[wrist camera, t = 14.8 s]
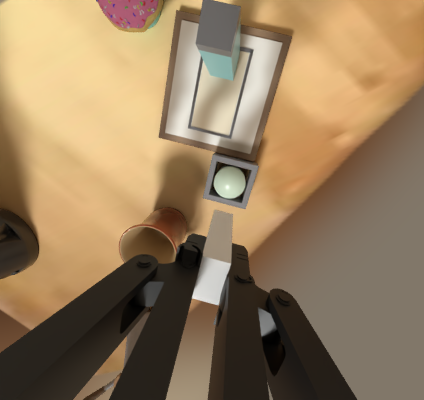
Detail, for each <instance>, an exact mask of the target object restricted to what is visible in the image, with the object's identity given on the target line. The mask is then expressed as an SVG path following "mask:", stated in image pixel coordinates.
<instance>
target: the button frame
mask: <svg viewBox="0 0 424 400" xmlns="http://www.w3.org/2000/svg"><path fill="white" fill-rule="evenodd" d="M218 162H221V163H225V164H229V165H233V166H237V167H241V168H245V169H249V173H248V176H247V180H246V184H245V189H244V191H243V193H242V196H237V197H235V198H224V197H222V196H220V195H219V194H218V193H217V192H216V190H215V189H212V185H213V181H214V177H215V173H216V169H217V164H218ZM258 167H259V166H258V164H257V163H255V162H251V161H247V160H243V159H239V158H235V157H231V156H227V155H223V154H219V153H214V154H213V156H212V160H211V165H210V169H209V173H208V178H207V182H206V186H205V191H204V195H203V198H204V199H208V200H212V201H216V202H220V203H223V204H227V205H231V206H235V207H239V208H242V209H246V206H247V203H248V199H249V196H250V193H251V190H252V187H253V183H254V180H255V177H256V174H257V170H258Z"/></svg>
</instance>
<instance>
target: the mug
mask: <svg viewBox="0 0 424 400" xmlns="http://www.w3.org/2000/svg"><path fill="white" fill-rule="evenodd" d="M186 231H187V223H186V220H185V218H184V216H183V215H182V214H181V213H180V212H179V211H178V210H176V209H173V208H169V207H165V208H161V209H158V210H156V211H154V212H153V213H151V214H150V215H149V216H148V217H147V218H146V219H145V220H144V222H143V223H142V224H139V225H135V226H133V227H131V228H129V229H127V230H126V231H125V232H124V233H123V235H122V237H121V239H120V242H119V252H120V255H121V258H122V260H123V261H124V263H126V262H127V261H128V260H130V259H131V258H132V257H134V256H136V255H140V254H149V255H152V256H154V257H155V258H156V259H157V260H158V263H162V264H166V263H172V262H174V261H175V257H176V252H177V247H178V246H179V245H180V244H181V243H182V241H183V240H184V238H185V235H186Z"/></svg>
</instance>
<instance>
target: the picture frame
mask: <svg viewBox="0 0 424 400" xmlns="http://www.w3.org/2000/svg"><path fill="white" fill-rule="evenodd" d="M199 20H200V15H195V14H191V13H187V12H182V11H178V10H176V17H175V25H174V32H173V39H172V46H171V53H170V60H169V68H168V75H167V82H166V89H165V96H164V103H163V111H162V118H161V125H160V132H159V138H162V139H166V140H170V141H174V142H178V143H182V144H186V145H190V146H194V147H198V148H202V149H206V150H210V151H214V152H218V153H222V154H226V155H230V156H234V157H238V158H242V159H246V160H250V161H255V158H256V155H257V151H258V148H259V145H260V142H261V138H262V135H263V132H264V128H265V125H266V122H267V118H268V115H269V112H270V108H271V105H272V102H273V98H274V95H275V92H276V88H277V85H278V82H279V78H280V75H281V72H282V69H283V65H284V62H285V59H286V55H287V52H288V49H289V45H290V42H291V39H292V36H288V35H284V34H280V33H275V32H271V31H266V30H262V29H257V28H253V27H249V26H244V25H240V55H239V59H238V63H237V67H236V72H235V76H234V80H233V81H232V80H228V79H223V78H219V77H215V76H211V75H210V74H209V71H208V69H207V67H206V65H205V63H204V61H203V59H202V57H201V54H200V52H199V50H198V48H197V46H196V44H195V43H196V37H197V31H198V26H199Z"/></svg>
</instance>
